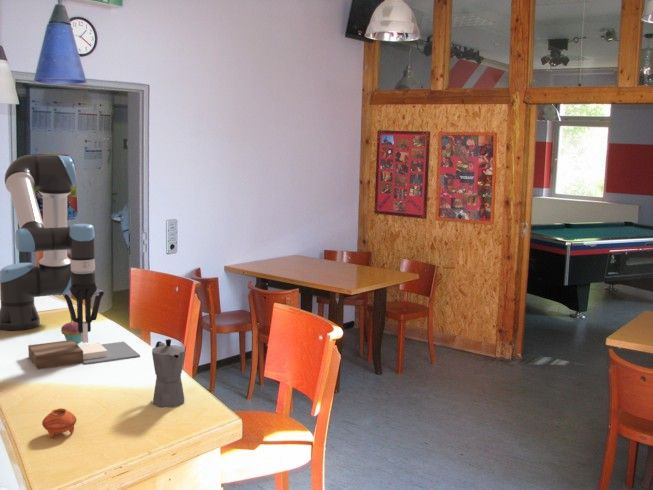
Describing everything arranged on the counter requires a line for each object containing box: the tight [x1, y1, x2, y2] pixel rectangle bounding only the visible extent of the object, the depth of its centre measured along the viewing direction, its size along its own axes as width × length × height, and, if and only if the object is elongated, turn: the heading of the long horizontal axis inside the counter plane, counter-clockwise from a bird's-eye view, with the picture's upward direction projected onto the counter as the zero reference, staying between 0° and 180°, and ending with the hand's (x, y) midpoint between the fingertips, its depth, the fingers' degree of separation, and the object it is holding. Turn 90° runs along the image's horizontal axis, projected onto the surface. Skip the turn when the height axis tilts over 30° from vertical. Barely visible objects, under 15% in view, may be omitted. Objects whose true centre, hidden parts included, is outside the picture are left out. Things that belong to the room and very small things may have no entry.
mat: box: [82, 341, 141, 365], centre depth 243 cm, size 18×18×1 cm
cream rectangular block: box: [77, 342, 108, 360], centre depth 240 cm, size 10×8×2 cm
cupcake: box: [60, 314, 82, 344], centre depth 254 cm, size 9×8×12 cm
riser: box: [27, 340, 84, 370], centre depth 235 cm, size 14×14×4 cm
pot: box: [41, 407, 77, 439], centre depth 178 cm, size 8×8×7 cm
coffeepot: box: [151, 338, 186, 408], centre depth 201 cm, size 15×9×18 cm, turn 33°
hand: (84, 341), depth 239 cm, fingers closed
